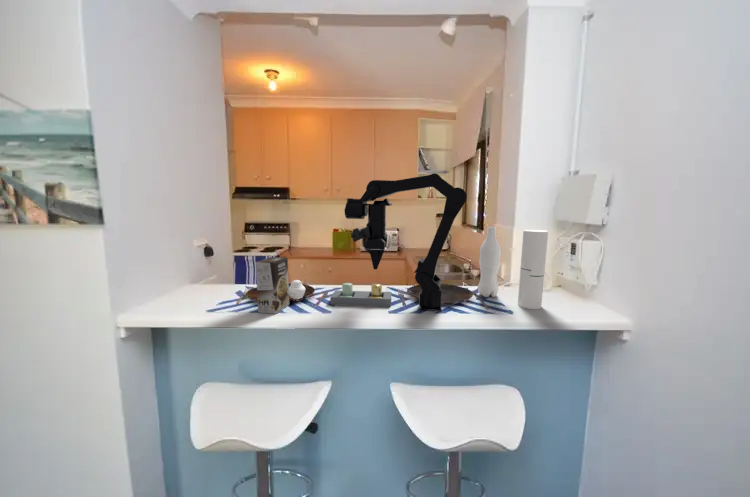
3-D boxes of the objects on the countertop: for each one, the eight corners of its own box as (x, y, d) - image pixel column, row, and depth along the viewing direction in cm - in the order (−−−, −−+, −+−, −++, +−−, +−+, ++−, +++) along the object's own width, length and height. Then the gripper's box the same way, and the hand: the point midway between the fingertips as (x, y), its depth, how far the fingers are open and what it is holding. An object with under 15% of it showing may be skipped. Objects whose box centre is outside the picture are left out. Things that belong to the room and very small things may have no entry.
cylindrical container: (522, 300, 112) (528, 229, 108) (544, 305, 107) (551, 230, 103) (514, 305, 107) (519, 230, 103) (536, 310, 102) (543, 232, 98)
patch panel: (391, 298, 113) (391, 291, 112) (390, 306, 105) (390, 298, 104) (335, 297, 114) (335, 289, 114) (330, 304, 106) (330, 296, 106)
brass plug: (371, 300, 111) (371, 283, 110) (381, 300, 111) (382, 283, 110) (370, 303, 108) (370, 286, 107) (381, 303, 107) (381, 286, 106)
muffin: (292, 295, 116) (291, 277, 114) (308, 297, 114) (307, 278, 113) (284, 301, 110) (283, 281, 108) (301, 302, 108) (300, 282, 107)
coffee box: (276, 314, 97) (274, 262, 95) (257, 312, 99) (254, 261, 96) (290, 304, 106) (288, 256, 104) (272, 303, 107) (270, 256, 105)
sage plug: (343, 299, 112) (343, 282, 111) (353, 299, 112) (353, 283, 111) (341, 302, 108) (341, 285, 107) (351, 303, 108) (351, 285, 107)
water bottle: (499, 294, 118) (504, 227, 114) (495, 299, 112) (500, 228, 108) (480, 291, 122) (484, 226, 118) (474, 296, 116) (478, 227, 112)
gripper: (356, 217, 115) (356, 260, 117) (347, 221, 96) (348, 272, 99) (387, 217, 114) (386, 260, 116) (384, 221, 95) (384, 273, 98)
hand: (376, 266), depth 107 cm, fingers open, 9 cm apart
